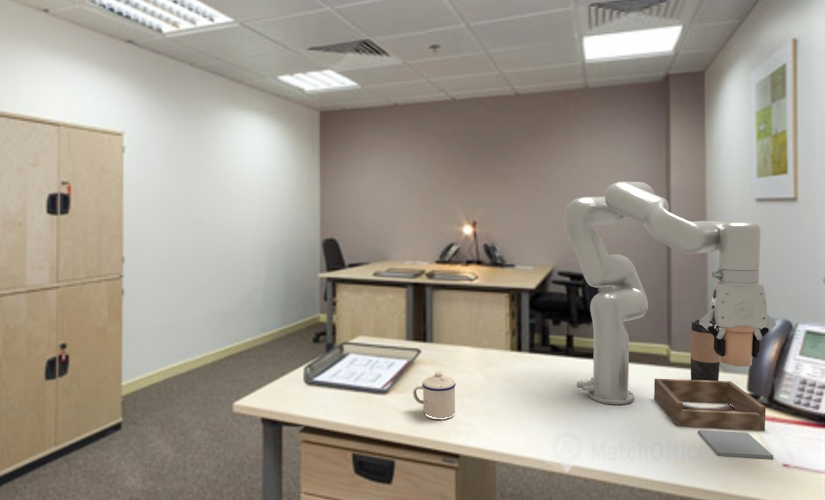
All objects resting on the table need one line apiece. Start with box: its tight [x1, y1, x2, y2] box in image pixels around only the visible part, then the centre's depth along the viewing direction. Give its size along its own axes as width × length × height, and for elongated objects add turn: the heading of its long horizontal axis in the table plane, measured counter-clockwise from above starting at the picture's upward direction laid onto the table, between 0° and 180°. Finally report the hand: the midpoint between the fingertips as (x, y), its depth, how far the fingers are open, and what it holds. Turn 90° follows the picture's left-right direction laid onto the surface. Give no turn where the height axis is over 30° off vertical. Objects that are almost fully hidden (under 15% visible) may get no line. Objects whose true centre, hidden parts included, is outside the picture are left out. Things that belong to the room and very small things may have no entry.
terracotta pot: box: [719, 326, 755, 367], centre depth 109 cm, size 7×7×9 cm
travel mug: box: [690, 319, 721, 381], centre depth 147 cm, size 8×8×20 cm
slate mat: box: [697, 429, 774, 460], centre depth 111 cm, size 11×11×1 cm
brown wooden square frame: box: [653, 378, 767, 432], centre depth 128 cm, size 20×18×6 cm
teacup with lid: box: [412, 371, 456, 418], centre depth 132 cm, size 12×9×12 cm
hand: (735, 354), depth 109 cm, fingers closed on terracotta pot, 6 cm apart
